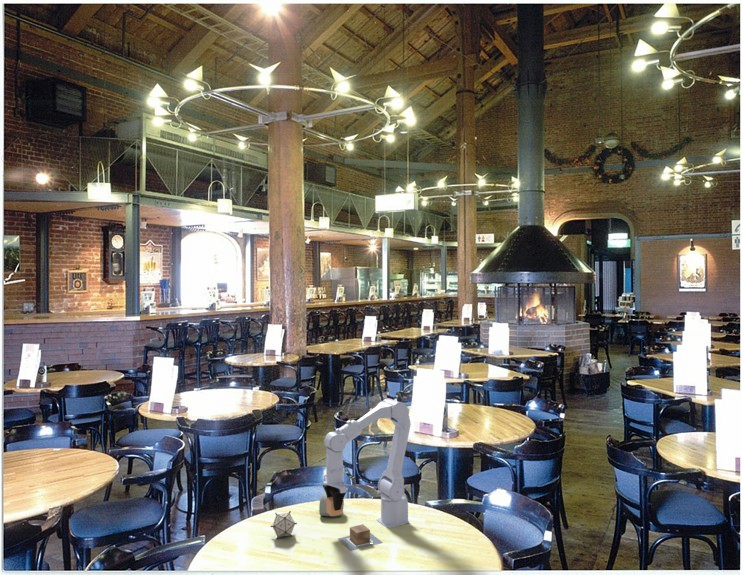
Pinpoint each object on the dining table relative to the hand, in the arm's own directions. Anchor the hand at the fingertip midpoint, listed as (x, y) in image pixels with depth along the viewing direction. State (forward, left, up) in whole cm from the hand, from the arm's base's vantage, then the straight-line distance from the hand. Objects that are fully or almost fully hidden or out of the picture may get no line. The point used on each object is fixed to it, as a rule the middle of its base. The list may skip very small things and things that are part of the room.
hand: (334, 507), depth 188 cm
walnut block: (-5, +9, -9) cm, 14 cm away
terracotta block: (0, 0, -2) cm, 2 cm away
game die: (+16, -7, -10) cm, 20 cm away
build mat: (-5, +9, -9) cm, 14 cm away
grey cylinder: (-7, -17, -10) cm, 21 cm away
